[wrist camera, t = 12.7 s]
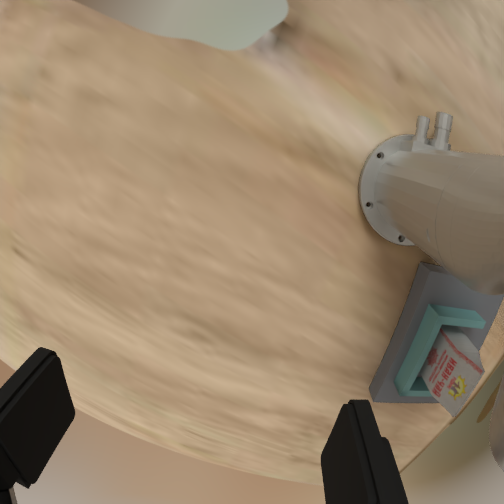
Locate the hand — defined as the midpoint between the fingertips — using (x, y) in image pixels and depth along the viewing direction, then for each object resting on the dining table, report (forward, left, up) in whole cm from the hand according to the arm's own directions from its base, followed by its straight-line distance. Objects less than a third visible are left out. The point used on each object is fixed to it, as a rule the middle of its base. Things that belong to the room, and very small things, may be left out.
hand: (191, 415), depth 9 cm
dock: (+11, +28, -28) cm, 41 cm away
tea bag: (+11, +27, -25) cm, 38 cm away
